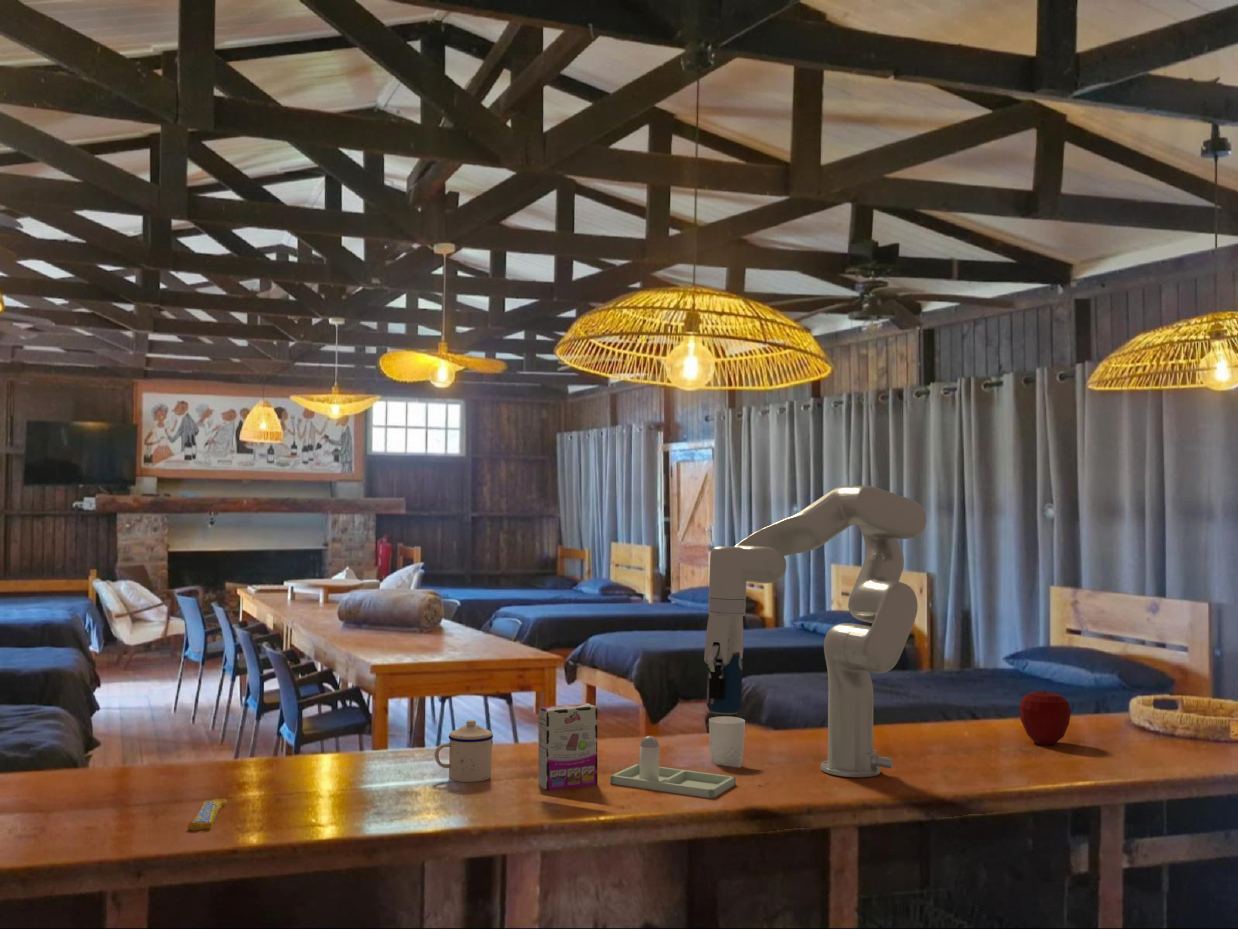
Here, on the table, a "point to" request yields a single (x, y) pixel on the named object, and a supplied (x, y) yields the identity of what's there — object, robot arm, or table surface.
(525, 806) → the table surface
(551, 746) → the candy bar box
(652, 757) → the shaker
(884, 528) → the robot arm
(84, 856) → the table surface
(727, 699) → the soda can
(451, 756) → the teacup with lid
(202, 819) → the candy bar
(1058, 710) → the apple
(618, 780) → the caddy
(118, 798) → the table surface
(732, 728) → the white cup
